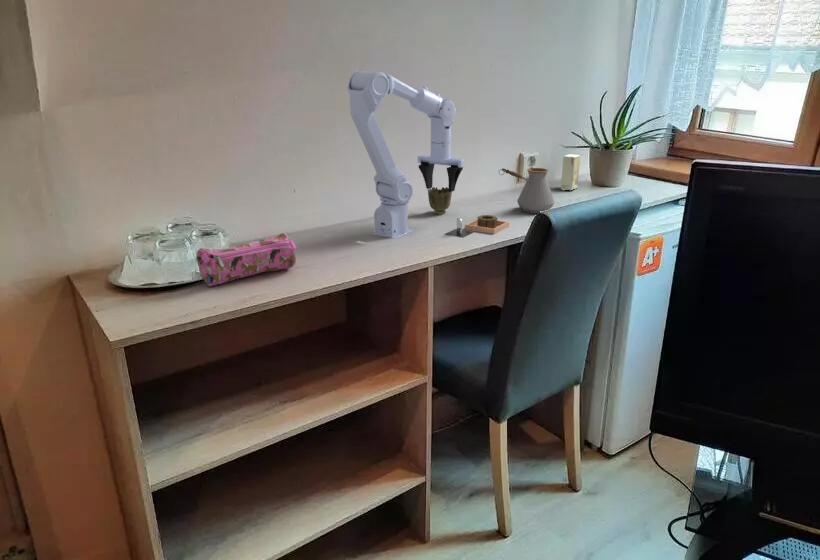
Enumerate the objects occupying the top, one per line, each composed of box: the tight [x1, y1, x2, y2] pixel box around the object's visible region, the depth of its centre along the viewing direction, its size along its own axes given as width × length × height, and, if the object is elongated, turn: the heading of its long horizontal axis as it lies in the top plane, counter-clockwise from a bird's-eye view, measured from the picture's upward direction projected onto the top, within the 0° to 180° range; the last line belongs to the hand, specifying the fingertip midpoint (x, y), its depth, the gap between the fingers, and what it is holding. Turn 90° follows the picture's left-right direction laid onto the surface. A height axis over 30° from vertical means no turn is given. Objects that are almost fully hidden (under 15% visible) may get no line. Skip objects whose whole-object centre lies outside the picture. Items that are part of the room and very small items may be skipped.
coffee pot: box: [498, 167, 555, 214], centre depth 191 cm, size 21×12×15 cm, turn 125°
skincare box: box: [560, 153, 581, 191], centre depth 221 cm, size 6×4×12 cm
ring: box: [477, 214, 498, 229], centre depth 175 cm, size 5×5×3 cm
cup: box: [427, 186, 453, 216], centre depth 191 cm, size 8×7×8 cm
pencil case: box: [196, 233, 298, 287], centre depth 141 cm, size 21×9×9 cm, turn 125°
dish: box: [464, 218, 510, 235], centre depth 176 cm, size 9×9×2 cm
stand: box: [444, 217, 475, 238], centre depth 171 cm, size 6×6×5 cm
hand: (440, 189), depth 180 cm, fingers open, 7 cm apart
